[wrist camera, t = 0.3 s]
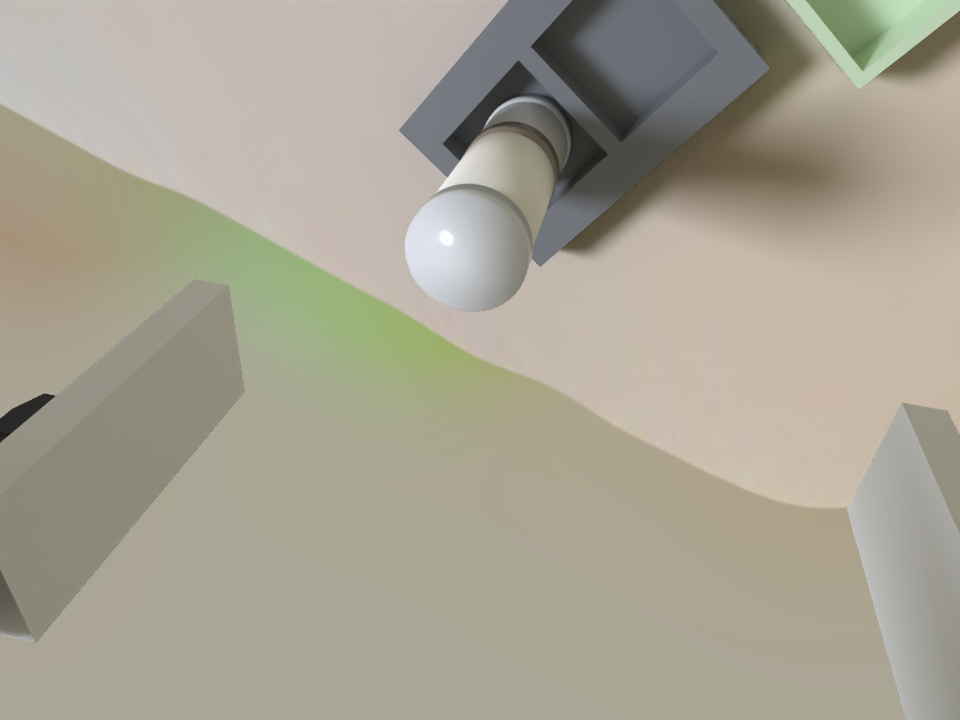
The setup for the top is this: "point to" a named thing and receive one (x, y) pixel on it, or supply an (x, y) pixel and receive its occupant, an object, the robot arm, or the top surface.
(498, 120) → the cylinder
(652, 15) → the fuse holder
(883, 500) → the robot arm
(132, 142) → the top surface
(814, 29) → the parts tray
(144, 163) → the top surface
